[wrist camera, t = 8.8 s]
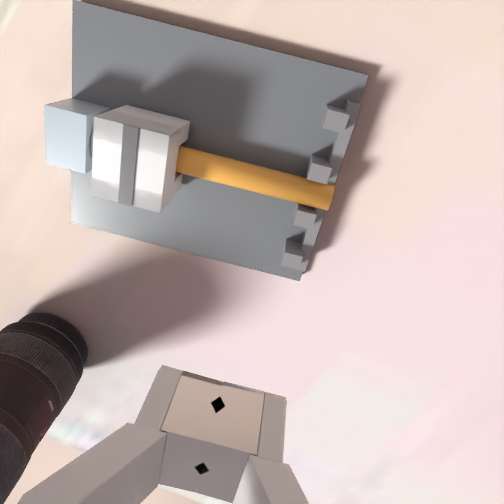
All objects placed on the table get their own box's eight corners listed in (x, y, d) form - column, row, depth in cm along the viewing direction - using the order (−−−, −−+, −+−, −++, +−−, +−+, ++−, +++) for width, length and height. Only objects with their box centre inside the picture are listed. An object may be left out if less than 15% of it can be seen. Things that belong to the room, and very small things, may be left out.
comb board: (79, 0, 23) (41, -6, 20) (366, 74, 23) (377, 80, 20) (76, 218, 30) (47, 241, 26) (299, 275, 30) (299, 305, 26)
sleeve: (126, 104, 24) (92, 116, 21) (190, 121, 24) (168, 136, 21) (121, 173, 27) (90, 195, 23) (180, 188, 27) (159, 213, 23)
